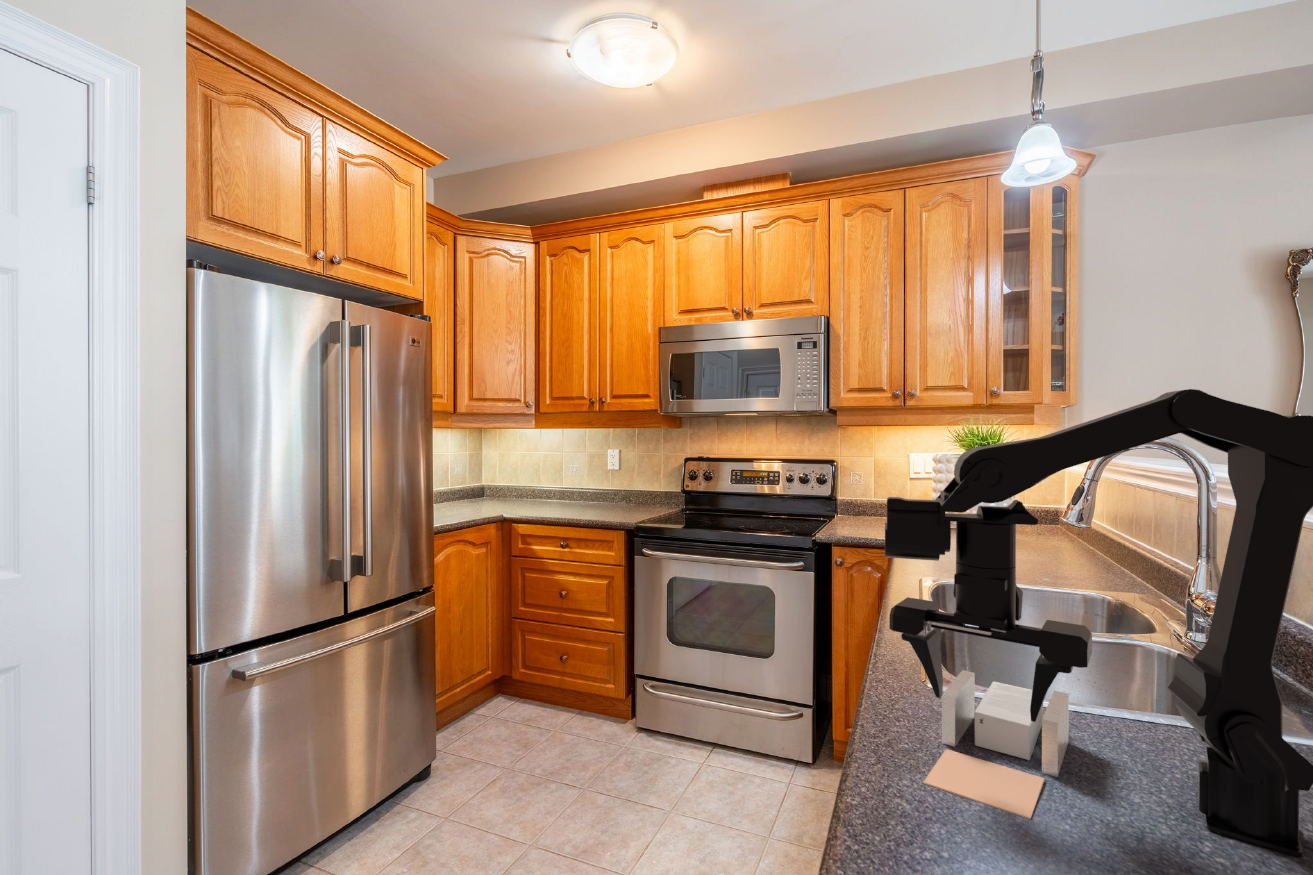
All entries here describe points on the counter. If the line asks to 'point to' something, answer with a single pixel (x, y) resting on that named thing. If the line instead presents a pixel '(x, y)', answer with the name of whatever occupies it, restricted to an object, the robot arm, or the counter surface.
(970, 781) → the tile
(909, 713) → the counter surface
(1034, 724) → the skincare box
